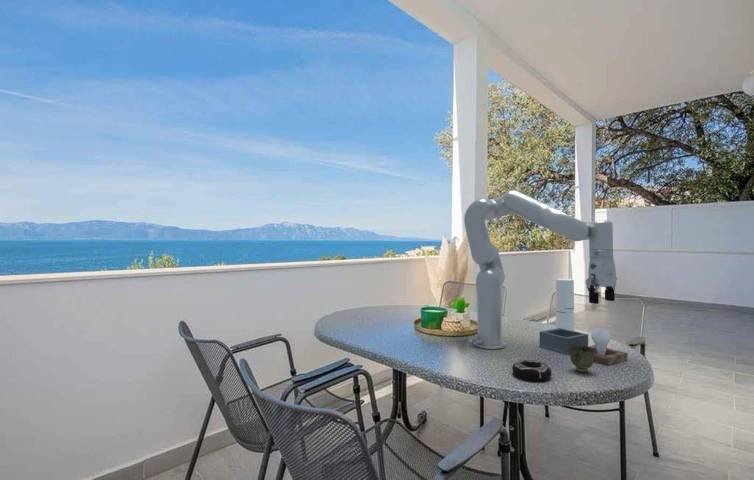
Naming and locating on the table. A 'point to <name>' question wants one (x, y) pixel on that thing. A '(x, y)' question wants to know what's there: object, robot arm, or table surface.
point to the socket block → (609, 356)
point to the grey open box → (562, 339)
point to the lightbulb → (601, 340)
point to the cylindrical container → (565, 304)
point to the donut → (531, 370)
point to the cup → (582, 357)
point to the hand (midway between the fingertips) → (601, 301)
